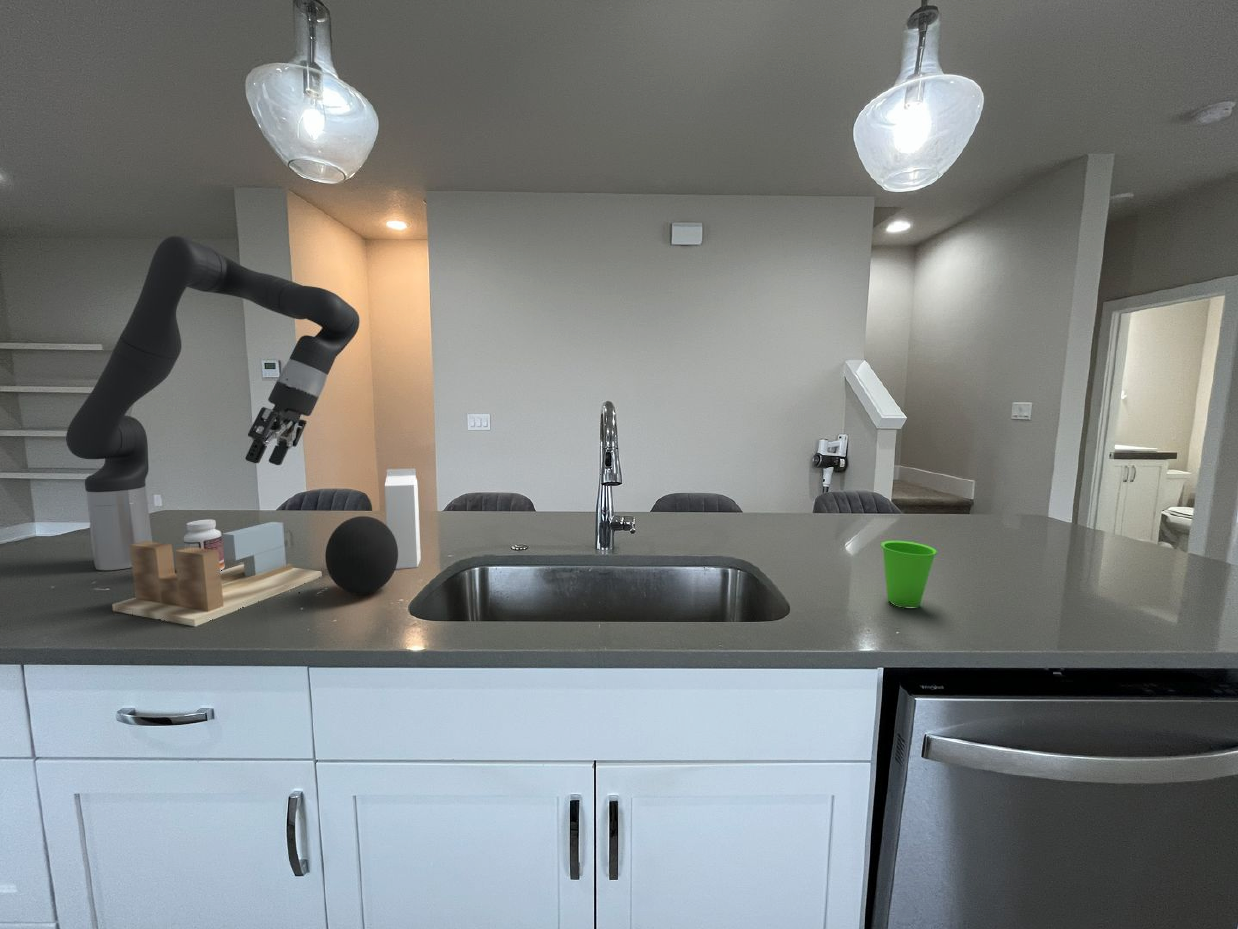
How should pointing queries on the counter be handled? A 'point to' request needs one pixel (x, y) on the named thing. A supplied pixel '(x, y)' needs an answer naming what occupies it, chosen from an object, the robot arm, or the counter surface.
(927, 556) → the cup
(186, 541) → the pill bottle
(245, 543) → the sliding plate
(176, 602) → the jig
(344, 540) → the decorative egg
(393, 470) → the milk
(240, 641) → the counter surface
